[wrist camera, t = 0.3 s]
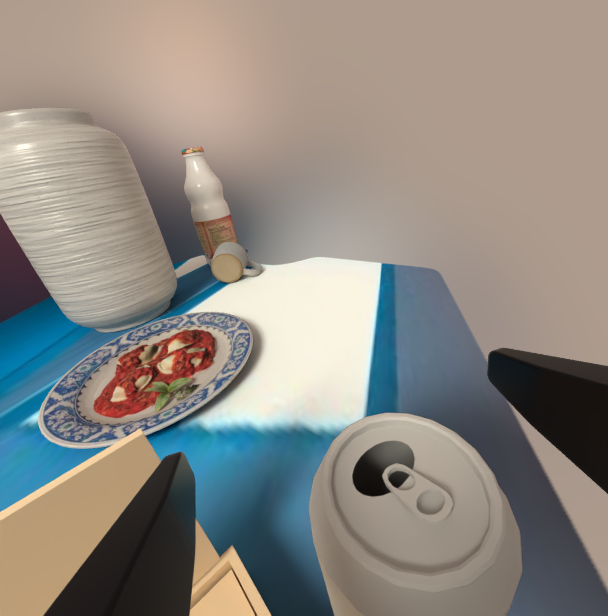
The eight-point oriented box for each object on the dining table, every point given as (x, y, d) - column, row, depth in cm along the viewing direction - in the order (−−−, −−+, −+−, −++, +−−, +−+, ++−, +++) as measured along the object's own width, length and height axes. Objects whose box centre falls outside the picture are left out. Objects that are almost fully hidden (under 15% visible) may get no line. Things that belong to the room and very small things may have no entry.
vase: (179, 283, 71) (117, 122, 55) (193, 314, 54) (109, 95, 39) (84, 313, 64) (-18, 136, 48) (67, 358, 47) (-97, 111, 32)
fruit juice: (201, 268, 80) (162, 153, 67) (221, 256, 87) (189, 150, 74) (230, 267, 76) (194, 145, 63) (248, 255, 84) (219, 144, 71)
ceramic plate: (85, 355, 48) (76, 340, 46) (240, 308, 54) (236, 293, 53) (0, 509, 26) (-23, 489, 24) (278, 399, 32) (272, 378, 31)
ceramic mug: (214, 287, 65) (204, 254, 61) (220, 274, 72) (211, 244, 69) (262, 279, 65) (254, 245, 62) (262, 267, 72) (256, 236, 69)
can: (396, 506, 21) (393, 375, 15) (514, 629, 15) (579, 490, 9) (310, 590, 17) (267, 463, 12) (418, 790, 12) (430, 722, 6)
